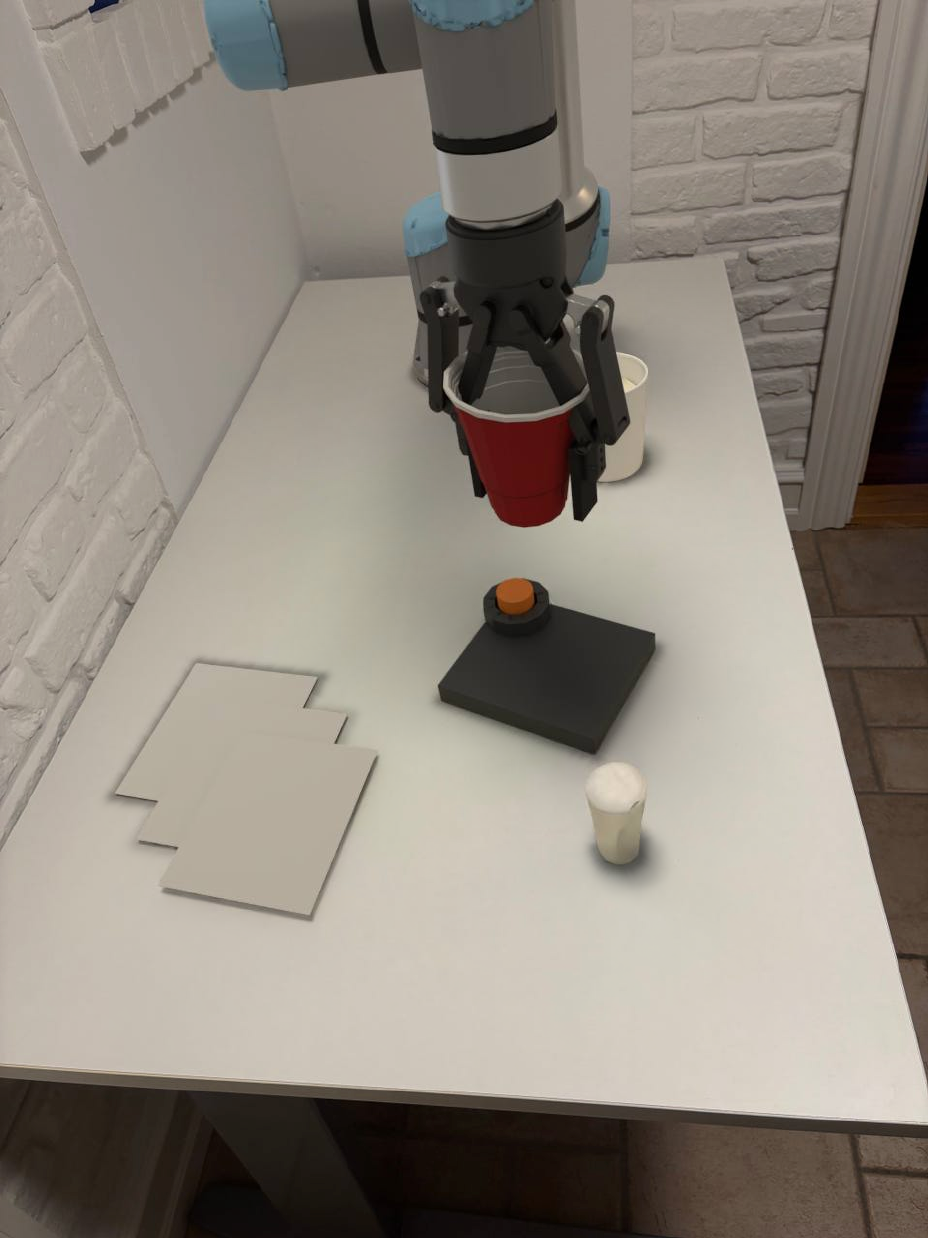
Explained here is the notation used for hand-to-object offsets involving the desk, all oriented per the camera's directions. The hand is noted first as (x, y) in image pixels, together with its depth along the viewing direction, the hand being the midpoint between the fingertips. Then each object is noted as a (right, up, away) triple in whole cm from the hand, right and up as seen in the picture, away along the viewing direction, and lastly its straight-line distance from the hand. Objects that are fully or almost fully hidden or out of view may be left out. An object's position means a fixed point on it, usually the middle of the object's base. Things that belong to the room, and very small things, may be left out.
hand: (535, 498), depth 75 cm
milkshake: (+7, -28, +2) cm, 29 cm away
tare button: (0, -8, +19) cm, 21 cm away
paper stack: (-26, -24, +13) cm, 37 cm away
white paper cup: (+12, +9, +40) cm, 43 cm away
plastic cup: (0, -1, +1) cm, 1 cm away
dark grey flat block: (+3, -15, +16) cm, 22 cm away
